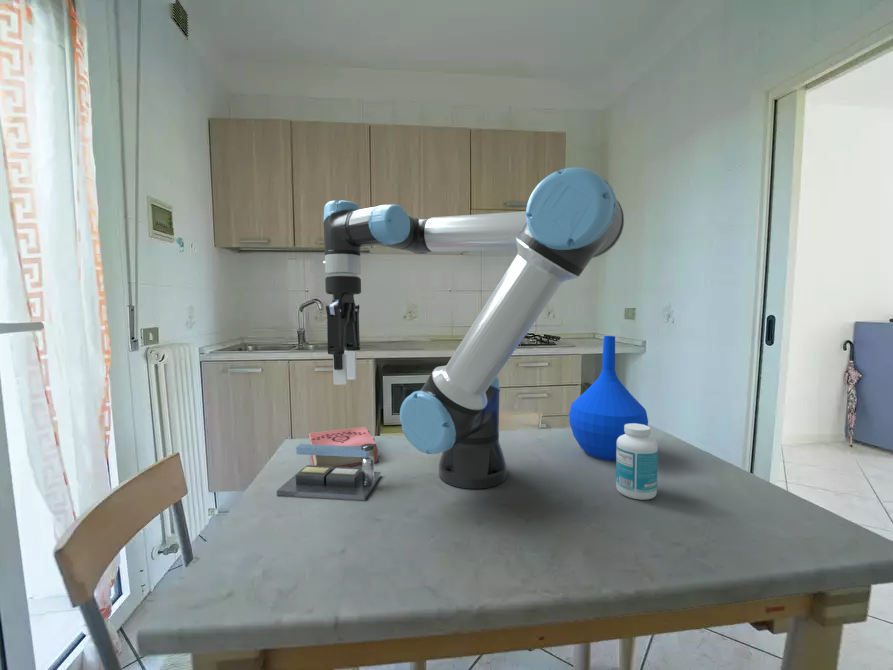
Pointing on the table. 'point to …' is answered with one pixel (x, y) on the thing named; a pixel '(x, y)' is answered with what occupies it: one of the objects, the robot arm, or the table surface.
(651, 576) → the table surface
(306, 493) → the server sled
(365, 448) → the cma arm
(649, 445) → the pill bottle
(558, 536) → the table surface
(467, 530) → the table surface
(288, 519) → the table surface
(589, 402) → the vase
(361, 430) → the book
